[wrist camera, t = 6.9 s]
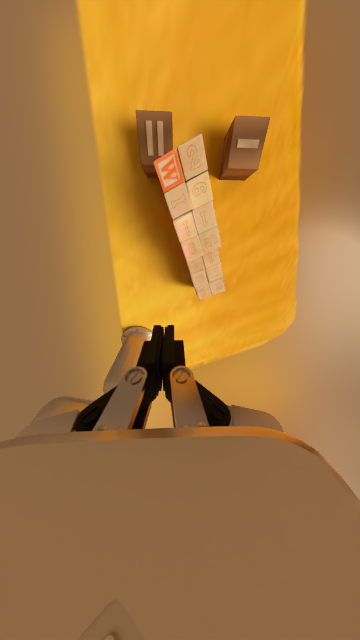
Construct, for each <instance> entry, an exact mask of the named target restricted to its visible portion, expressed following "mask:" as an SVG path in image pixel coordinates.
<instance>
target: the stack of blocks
mask: <svg viewBox="0 0 360 640" xmlns="http://www.w3.org/2000/svg"><path fill="white" fill-rule="evenodd" d="M154 166H155V169H156V172H157V174H158V178H159V181H160V184H161V186H162V190H163V193H164V196H165V199H166V202H167V206H168V209H169V213H170V216H171V219H172V222H173V224H174V228H175V231H176V234H177V237H178V240H179V242H180V245H181V248H182V251H183V254H184V257H185V260H186V263H187V267H188V271H189V274H190V277H191V280H192V282H193V285H194V288H195V291H196V294H197V295H198V298H199V300H201V299H204V298H207V297H210V296H212V295H215V294H218V293H221V292H223V291H226V289H225V284H224V280H223V273H222V268H221V264H220V258H219V253H218V248H220V247H222V246H221V241H220V235H219V230H218V226H217V222H216V217H215V212H214V206H213V202H212V201H213V196H212V190H211V185H210V179H209V174H208V171H207V170H208V166H207V160H206V154H205V148H204V142H203V136H202V134H199V135H197V136H196V137H194V138H192V139H190V140H189V141H187V142H185V143H183V144H181V145H180V146H178V149H173V150H172V151H170V152H168V153H167V154H165V155H163V156H162V157H160V158H158V159H157V160H155V161H154Z"/></svg>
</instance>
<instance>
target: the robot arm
mask: <svg viewBox="0 0 360 640" xmlns="http://www.w3.org/2000/svg"><path fill="white" fill-rule="evenodd" d="M121 339H122V343H123V345H122V347H121V349H120V351H119V353H118V355H117V357H116V359H115V361H114V363H113V365H112V367H111V369H110V371H109V373H108V375H107V377H106V379H105V381H104V387H103V392H104V395H103V396H101V397H100V398H98V399H97V400H95V401H90V400H86V399H81V398H76V397H69V396H63V397H58V398H55V399H53V400H51V401H50V402H48V403H47V404H46V405H45V406H44V407H42V409H41V410H40V411H39V412H38V413H37V414H36V416H35V417H34V418H33V420H32V421H31V422H30V424H29V425H27V426H26V427H25V428H24V429H23V430H21V431H20V433H19V434H18V435H17V436H16V437H15V438H13V439H9V440H6V441H2V442H0V640H360V500H359V499H358V497H357V496H356V495H355V493H354V492H353V491H352V490H351V488H350V487H349V486H348V485H347V483H346V482H345V481H344V480H343V478H342V477H341V476H340V475H339V474H338V472H337V471H336V470H335V469H334V468H333V466H332V465H331V464H330V463H329V462H328V461H327V460H326V459H325V458H324V457H323V456H322V455H321V454H320V453H319V452H318V451H316V450H315V449H314V448H312V447H311V446H309V445H308V444H306V443H305V442H303V441H301V440H299V439H297V438H295V437H293V436H291V435H289V434H286V433H284V432H283V430H282V428H281V425H280V424H279V422H278V421H277V420H276V419H275V418H274V417H273V416H271V415H270V414H268V413H266V412H262V411H258V410H253V409H249V408H244V407H240V406H235V405H231V406H228V405H226V404H225V403H224V402H222V401H221V400H220V399H219V398H217V397H216V396H215V395H213V394H212V393H211V392H210V391H208V390H207V389H206V388H205V387H203V386H202V385H201V384H199V383H198V382H197V381H195V379H194V376H193V373H192V371H191V370H190V369H189V368H188V367H186V366H185V355H184V344H183V340H174V325H168V327H165V333H164V329H163V327H161V325H154V328H153V332H152V331H151V330H149V329H147V328H144V327H131V328H128V329H127V330H126V331H125V332H124V333H123V335H122V338H121ZM162 379H163V390H164V391H165V395H166V398H167V399H168V401H170V403H171V410H172V419H173V427H174V428H160V429H145V427H146V422H147V420H148V416H149V412H150V409H151V405H152V401H153V400H154V399H155V398H156V396H158V392H159V391H161V389H162Z"/></svg>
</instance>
